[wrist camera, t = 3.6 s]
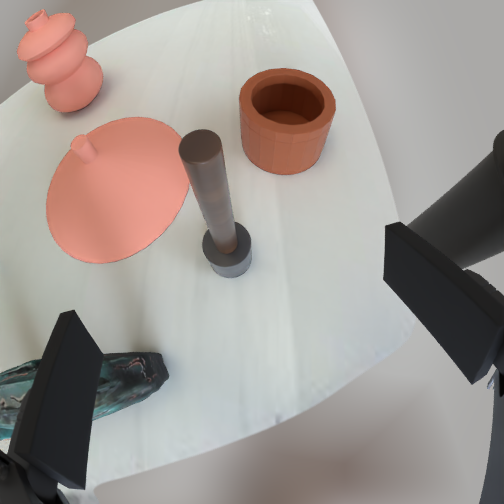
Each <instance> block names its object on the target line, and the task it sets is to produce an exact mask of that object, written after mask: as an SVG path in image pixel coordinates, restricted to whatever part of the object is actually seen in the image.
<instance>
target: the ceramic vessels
mask: <svg viewBox="0 0 504 504" xmlns="http://www.w3.org/2000/svg"><path fill="white" fill-rule="evenodd" d="M75 21H76V20H75V18H74V17H73V16H72V15H71V14H70V13H58V14H54V15H51V16H49V17H48V16H47V14H46V11H45V10H44V9H43V10H40V11H38V12H37V13H35V14H33V15H32V16H31V17H30V18H29V19H28V20H27V21H26V22H25V25H26V26H27V28H28V29H29V31H28V32H27V33H26V34H25V35H24V37H23V38H22V40H21V41H20V43H19V46H18V49H17V54H18V57H19V59H20V60H23V61H28V63H27V73H28V76H29V78H30V79H31V80H32V81H33V82H35V83H38V84H45V90H44V91H45V97H46V100H47V102H48V103H49V105H50V106H51V107H52V108H53V109H54V110H56V111H59V112H73V111H77V110H79V109H82V108H84V107H85V106H87V105H88V104H89V103H91V102H92V100H93V99H94V98H95V97H96V95H97V94H98V92H99V90H100V88H101V86H102V83H103V72H102V69H101V66H100V65H99V64H98V62H97V61H95V60H94V59H93V58H91V57H88V56H86V53H87V48H88V41H87V38H86V36H85V35H84V34H83V33H82V32H81V31H79V30H76V29H74V26H75ZM181 140H182V138H181V137H180V136H179V135H178V134H177V133H176V132H175V131H174V130H173V129H172V128H171V127H169V126H168V125H166V124H164V123H163V122H160V121H157V120H154V119H151V118H143V117H131V118H123V119H119V120H115V121H111V122H109V123H107V124H104V125H102V126H100V127H98V128H96V129H95V130H93V131H91V132H90V133H88V134H87V135H79V136H77V137H76V138H74V140H73V141H72V143H71V149H70V150H69V152H68V153H67V154H66V155H65V157H64V158H63V160H62V161H61V162H60V164H59V166H58V167H57V169H56V171H55V173H54V175H53V178H52V181H51V184H50V187H49V190H48V195H47V202H46V214H47V221H48V225H49V230H50V232H51V234H52V236H53V238H54V240H55V242H56V243H57V244H58V245H59V246H60V248H61V249H62V250H63V251H65V252H66V253H67V254H69V255H70V256H72V257H73V258H76V259H78V260H81V261H84V262H89V263H99V264H100V263H108V262H115V261H118V260H121V259H124V258H127V257H130V256H132V255H134V254H135V253H137V252H139V251H140V250H142V249H144V248H146V247H147V246H148V245H150V244H151V243H152V242H153V241H154V240H156V239H157V238H158V237H159V236H160V235H161V234H162V233H163V232H164V231H165V230H166V228H167V227H168V226H169V225H170V224H171V223H172V221H173V220H174V218H175V217H176V215H177V213H178V212H179V210H180V208H181V207H182V205H183V202H184V199H185V197H186V194H187V192H188V188H189V182H190V181H189V178H188V176H187V173H186V171H185V168H184V166H183V163H182V160H181V158H180V155H179V152H178V148H179V144H180V142H181Z"/></svg>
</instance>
